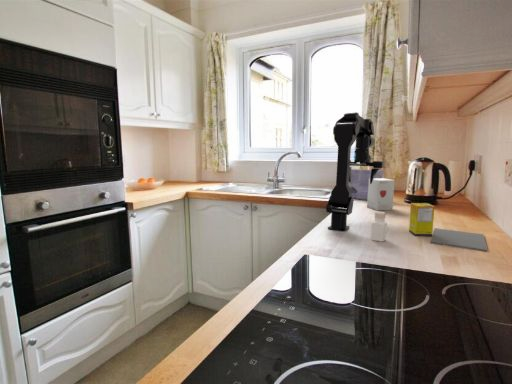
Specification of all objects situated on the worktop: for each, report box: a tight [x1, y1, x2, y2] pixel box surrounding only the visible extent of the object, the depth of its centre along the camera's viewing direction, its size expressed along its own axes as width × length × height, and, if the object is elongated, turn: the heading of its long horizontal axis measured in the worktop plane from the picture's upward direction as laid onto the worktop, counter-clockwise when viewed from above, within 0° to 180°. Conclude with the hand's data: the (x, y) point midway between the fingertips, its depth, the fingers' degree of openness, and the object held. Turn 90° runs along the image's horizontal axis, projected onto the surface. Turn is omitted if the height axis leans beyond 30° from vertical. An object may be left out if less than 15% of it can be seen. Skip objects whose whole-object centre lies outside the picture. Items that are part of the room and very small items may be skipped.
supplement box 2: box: [366, 177, 395, 211], centre depth 157 cm, size 9×9×15 cm
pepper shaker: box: [370, 211, 388, 243], centre depth 105 cm, size 4×4×10 cm
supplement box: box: [408, 202, 435, 237], centre depth 112 cm, size 6×6×11 cm
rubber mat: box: [430, 227, 488, 252], centre depth 107 cm, size 20×15×1 cm
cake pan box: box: [349, 168, 384, 201], centre depth 183 cm, size 19×5×18 cm, turn 58°
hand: (360, 183), depth 141 cm, fingers open, 9 cm apart
